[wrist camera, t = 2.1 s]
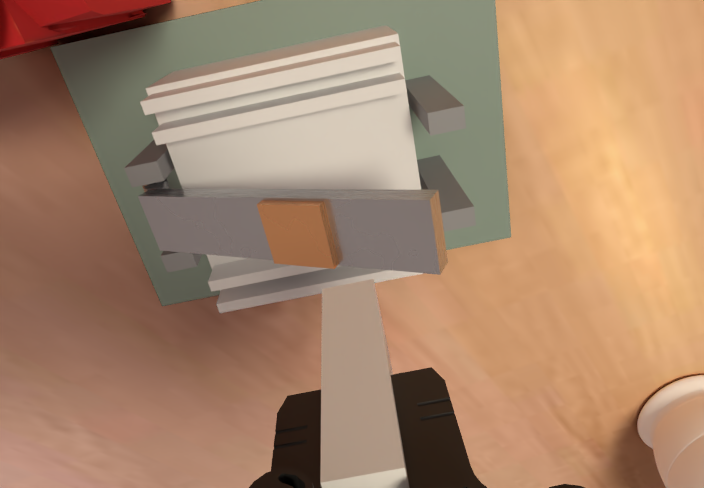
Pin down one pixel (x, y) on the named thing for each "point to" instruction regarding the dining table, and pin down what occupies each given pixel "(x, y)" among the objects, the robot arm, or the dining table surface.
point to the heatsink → (297, 122)
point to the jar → (676, 432)
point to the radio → (60, 20)
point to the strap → (302, 225)
